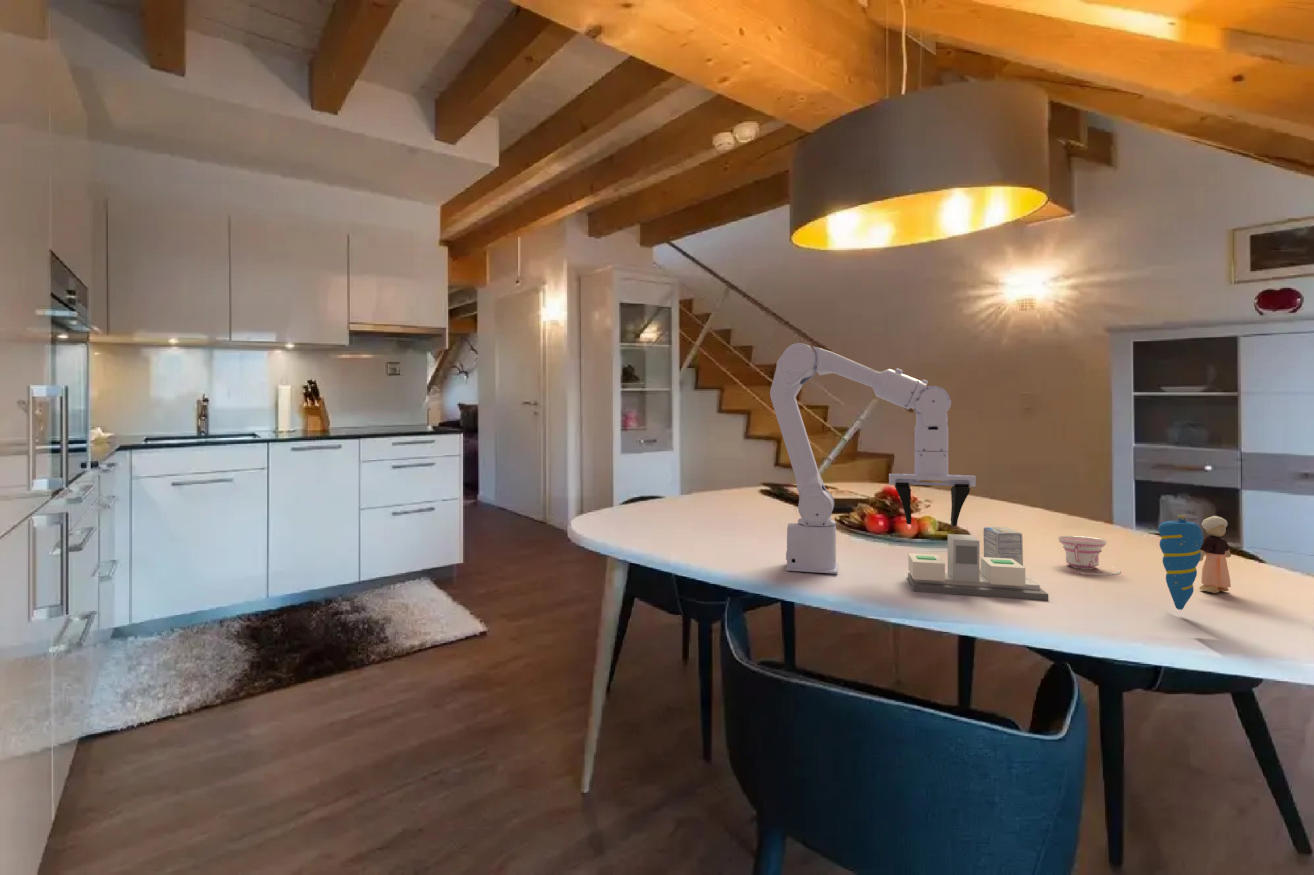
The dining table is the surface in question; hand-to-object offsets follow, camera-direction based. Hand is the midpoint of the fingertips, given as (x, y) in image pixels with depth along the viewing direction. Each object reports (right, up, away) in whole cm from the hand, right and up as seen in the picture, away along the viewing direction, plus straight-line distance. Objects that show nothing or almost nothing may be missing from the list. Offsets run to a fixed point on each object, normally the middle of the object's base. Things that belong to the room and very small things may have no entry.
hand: (931, 524), depth 111 cm
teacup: (+34, -10, +8) cm, 36 cm away
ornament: (+29, -10, -20) cm, 37 cm away
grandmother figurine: (+45, -10, -8) cm, 47 cm away
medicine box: (+15, -10, +3) cm, 19 cm away
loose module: (+3, -8, -7) cm, 11 cm away
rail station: (+4, -10, -7) cm, 13 cm away
